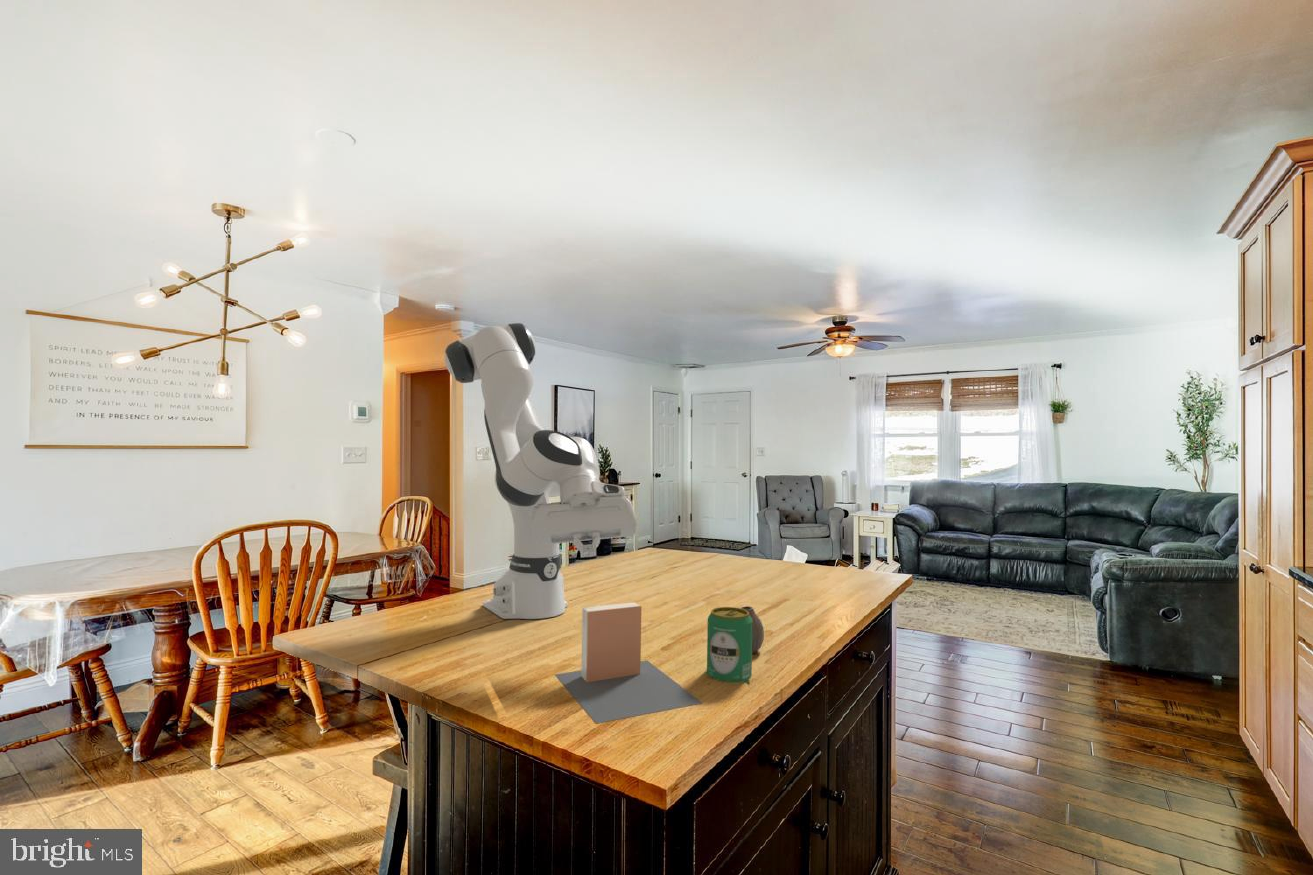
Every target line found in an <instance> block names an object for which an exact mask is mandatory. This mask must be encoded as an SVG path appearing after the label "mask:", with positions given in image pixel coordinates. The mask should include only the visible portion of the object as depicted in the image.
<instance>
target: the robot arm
mask: <svg viewBox="0 0 1313 875" xmlns="http://www.w3.org/2000/svg"><path fill="white" fill-rule="evenodd" d="M444 352H445V353H444V354H445V356H444V364H445V366H446V369H447V371H448V372H449V374H450V376H452V377H453V378H454V379H455V381H456V382H458V383H461V384H467V383H468V384H469V383H474V381H477V380H480V381H481V384H480V387H481V392H482V396H483V397H482V398H483V401H484V408H483V409H484V410H483V412H484V413H483V416H484V417H483V418H484V425H485V428H486V433H487V437H488V440H489V444H490V448H491V452H492V453H491V454H492V456H493V460H494V466H495V472H494V483H495V487H496V489H497V491H498V492H499V494H500V496H501V497H502V498H503V500H505V502H507V503H508V506H509V510H510V512H511V516H512V521H513V544H514V545H513V554H512V555H508V558H509V559H508V561H510V562H509V563H510V564H509V567H508V568H509V569H508V570H507V571H506V572H505V573H504V574H503V575H502V576H501V577H500V578H498V579H497V580H496V581H495V582H494V584H493V589H492V590H493V592H492V598H490V599H487V600H485V601H483V604H482V606H483V607H484V608H486V609H487V610H489V611H490V612H492V613H493V614H495V615H496V616H498V617H499V618H501V619H502V620H503V619H504V620H506V619H507V620H509V619H510V620H511V619H512V620H513V619H520V620H521V619H523V620H536V619H537V620H538V619H547V618H552V617H556V616H560V615H562V614H563V613H564V612H565V611H566V609H565V608H566V607H568V601H567V600H565V588H564V587H565V586H564V576H563V574H562V573H561V571H560V570H561V568H562V554H561V553H560V544H563V543H565V544H566V543H573V546H574V547H575V548H576V549H577V550H578V551H579V553H580V558H589V557H590V558H591V557H597V548H598V547H599V545H600V543H601V540H605V539H615V538H627V537H633V536H634V535H635V534H636V532H637V530H638V522H637V516H636V512H635V510H634V508H633V505H632V502H631V501H630V500H629V499H628V498H627V497H626V491H625V488H624V487H623V486H621V485H615V484H609V483H605V482H602V481H600V476H601V473H600V471H601V470H600V466H599V465H600V464H599V461H598V457H597V453H596V452H595V448H593V446H592V444H591V443H590V442H589V441H588V440H587V439H585V438H583V437H581V436H569V435H567V434H565V433H563V432H559V431H557V430H551V429H544V427H543V425H542V422H541V421H540V418H539V416H538V414H537V412H536V410H535V407H534V405H533V403H532V401H531V398H530V394H531V392H532V388H533V386H534V385H533V383H534V380H533V372H532V369H531V366H530V364H531V363H532V362H533V360H534V358H535V355H536V341H535V338H534V336H533V334H532V333H531V331H530V330H529V329H528V327H527V326H526V325H524V324H523V323H520V322H516V323H515V322H513V323H508V325H503V326H498V325H488V326H484V327H482V328H481V329H479V330H477V332H476V333H475V334H472V335H469V336H467V337H465V338H463V339H461V340H455V341H454V342H451V343H450V344H447V346H446V349H445V351H444ZM556 497H559V499H560V500H559V501H555V502H549V498H556ZM585 541H592V543H588V544H584V543H582V542H585Z"/></svg>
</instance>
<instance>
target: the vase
mask: <svg viewBox="0 0 1313 875" xmlns="http://www.w3.org/2000/svg"><path fill="white" fill-rule="evenodd" d="M740 608H741V609H744V610H747V611H748V612H749V615H750V617H751V619H752V654H754V653H757V652H758V651H759V650H760V649H761V647H762V645H763V643H764V639H765V638H764V637H765V629H764V626H763V623H762V620H761V619H760V618H759V616H758V615H757V614H756V612H755V609H754V607H752V606H746V605H745V606H741V607H740Z"/></svg>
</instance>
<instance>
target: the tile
mask: <svg viewBox="0 0 1313 875" xmlns="http://www.w3.org/2000/svg"><path fill="white" fill-rule="evenodd" d="M581 620H582V621H581V622H582V623H581V626H582V627H581V668H580V669H581V670H580V671H581V677H582V678H583V679H584V680H585V681H586V682H593V681H599V680H605V679H611V678H618V677H624V676H630V675H636V674H640V663H641V658H642V657H641V656H642V655H641V654H642V653H641V652H642V650H641V648H642V605H640V604H638V603H637V602H635V601H633V602H626V603H625V602H624V603H615V604H614V603H613V604H606V605H597V606H587V607H582V618H581Z"/></svg>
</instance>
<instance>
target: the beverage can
mask: <svg viewBox="0 0 1313 875" xmlns="http://www.w3.org/2000/svg"><path fill="white" fill-rule="evenodd" d="M706 631H707V635H706V636H707V637H706V638H707V639H706V642H707V644H706V646H707V648H706V650H707V651H706V674H707V676H708V677H710V678H712V679H714V680H717V681H720V682H721V681H722V682H727V683H728V682H730V683H735V682H736V683H739V682H743V683H745V684H746V683H747V682H748V681H750V679H751V677H752V675H753V672H752V669H753V667H752V666H753V664H752V663H753V661H752V660H753V653H752V619H751V617H750V615H749V612H748V611H747V610H744V609H741V607H735V606H721V607H719V606H718V607H716V608H715V607H714V608H713V609H711V610H710V613H709V615H708V617H707V630H706ZM748 683H749V682H748ZM748 683H747V684H748Z"/></svg>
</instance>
